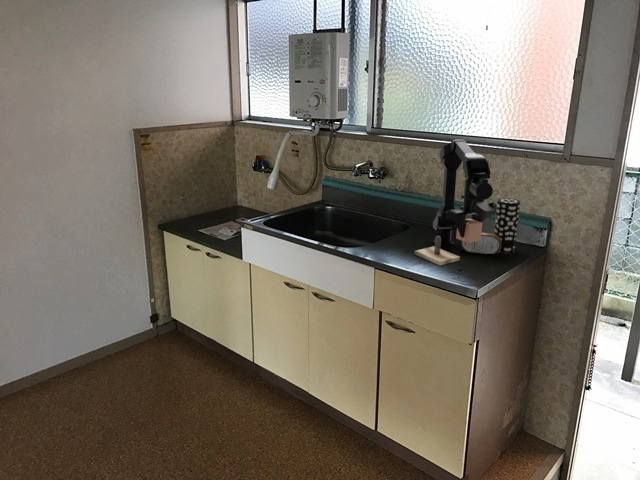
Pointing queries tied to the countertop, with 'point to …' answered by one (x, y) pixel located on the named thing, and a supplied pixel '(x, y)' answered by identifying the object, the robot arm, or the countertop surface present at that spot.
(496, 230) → the spotted tube
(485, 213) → the robot arm
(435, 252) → the post stand
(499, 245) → the tin
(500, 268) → the countertop surface
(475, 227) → the collar
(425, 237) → the countertop surface
